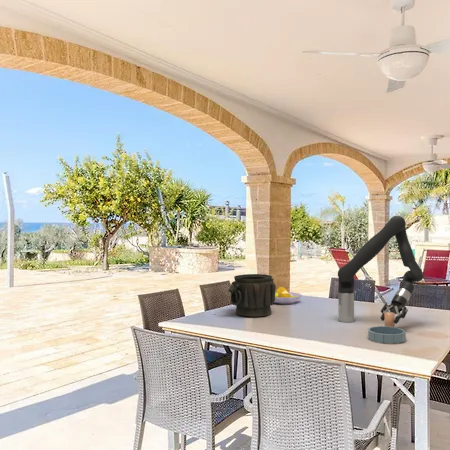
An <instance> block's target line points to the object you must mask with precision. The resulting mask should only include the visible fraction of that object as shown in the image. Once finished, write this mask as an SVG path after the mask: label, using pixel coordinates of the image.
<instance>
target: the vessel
mask: <svg viewBox="0 0 450 450" xmlns="http://www.w3.org/2000/svg"><path fill="white" fill-rule="evenodd" d="M233 279H234V280H233V281H232V282H231V284H230V287H229V288H228V290H227V291H228V292H229V293H230V304H232V305H233V306H235V314H236V315H240V316H243V317H265V316H266V317H267V316H270V315H271V314H272V309H271V306H273V304H275V303H274V301H275V292H276V290H277V289H276V287H277V286H276V284H275V282H274V278H273V276H272V275H270V274H265V273H264V274H263V273H246V274H238V275H234V276H233Z"/></svg>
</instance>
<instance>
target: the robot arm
mask: <svg viewBox="0 0 450 450" xmlns="http://www.w3.org/2000/svg"><path fill="white" fill-rule="evenodd" d="M393 237H394V238H395V240H396V243H397V248H398V251H399V255H400V258H401V262H402V265H403V266H404V267H405V268H408V269H409V270H407V271H406V272H405V273H404V274H403V278H402V280H401V284H400V286H399V288H398V290H397V291H396V292H395V294H394V296H393V298H392V300H391V301H390V304H388V303H384V304H383V307H382V308H381V309H380V313H381V316H380V320H381V321H382V322H385V317H384V312H394V314H395V315H396V316H395V320H394V323H395V325H397V324H398V323H399V322H400V320H401V319H405V318H406V315H407V313H408V312H409V309H408V307H406V305H407V304H408V302H409V301H410V298H411V295H412V293H413V292H414V289H415V286H414V284H413V283H417V282H419V283H420V282H421V281H422V280H423V279H424V273H423V271H422V268H421V267H420V265H419V264H418V262H417V261H416V258H415V257H416V256H415V255H414V252H413V249H412V246H411V244H410V241H409V238H408V234H407V228H406V220H405V218H403V216H401V215H393V216H392V217H390V218H389V220H387V223H386V224H385V225H384V226H383V227H382V228H381V230H380V231H379V232H377V233H375V234H374V235H373V236H372V237H370V238H369V239H368V240H367V242H365V244H363V245H362V246H361V248H360V249H359V250H358V251H357V252H356V253H355V255H354V256H353V257H352V259H351V260H349V261H348V262H347V263H346V264H345V265H342V266H341V267H340V268H339V269H338V271H337V277H338V287H337V292H338V295H337V296H338V300H337V301H338V304H337V305H338V308H337V310H338V311H337V312H338V314H337V315H338V322H341V323H342V322H343V323H354V321H355V276H356V274H357V273H358V272H359V271H360V270H361V269H362V268H363V267H364V266H365V265H367V264H368V263H370V262H371V260H373V259H374V258H375V257H376V256H377V255H378V254H379V253H380V252H381V251H382V250H383V249H384V248H385V246H387V244H388V242H389V241H390V240H391V239H392V238H393Z"/></svg>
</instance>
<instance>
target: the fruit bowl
mask: <svg viewBox="0 0 450 450" xmlns="http://www.w3.org/2000/svg"><path fill="white" fill-rule="evenodd" d="M301 297H302V294H300V293H299V292H293V291H288V289H287V288H285V287H284V286H279V287H278V288H277V289H276V290H275V301H274V303H273V304H279V305H288V304H294V303H296V302H298V301H299V300H300V298H301Z"/></svg>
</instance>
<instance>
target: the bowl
mask: <svg viewBox="0 0 450 450" xmlns="http://www.w3.org/2000/svg"><path fill="white" fill-rule="evenodd" d="M367 339H368V340H369V339H370V340H369V341H371V340H372V341H371V342H373V341H375V342H374V343H377V342H379V343H378V344H384V343H399V344H403V343H405V342H406V341H407V340H406V339H407V332H406V331H405V329H403V328H399V327H396V326H395V327H389V326H385V325H377V326H370V327H368V328H367Z"/></svg>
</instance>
